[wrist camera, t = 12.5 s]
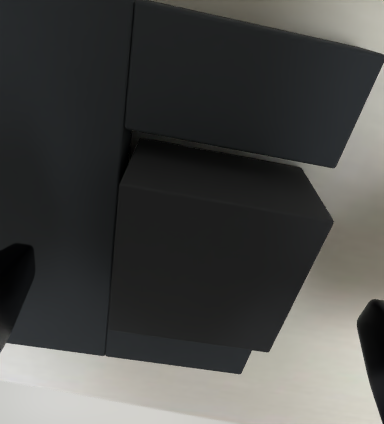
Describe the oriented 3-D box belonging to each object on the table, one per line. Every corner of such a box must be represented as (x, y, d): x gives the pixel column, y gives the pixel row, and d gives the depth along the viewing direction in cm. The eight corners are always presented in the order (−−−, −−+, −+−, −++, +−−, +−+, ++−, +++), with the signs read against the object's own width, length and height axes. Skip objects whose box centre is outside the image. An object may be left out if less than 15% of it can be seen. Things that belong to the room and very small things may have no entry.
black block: (255, 284, 13) (269, 353, 10) (125, 264, 12) (107, 330, 10) (302, 167, 10) (335, 221, 8) (140, 136, 10) (118, 183, 7)
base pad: (237, 343, 15) (241, 375, 14) (-148, 288, 13) (-185, 318, 12) (360, 47, 8) (389, 55, 7) (-343, -110, 7) (-460, -133, 6)
